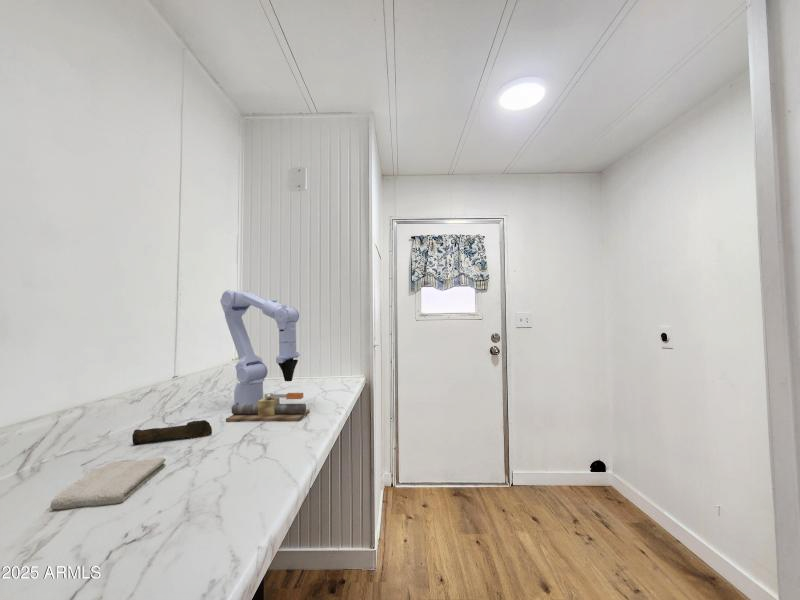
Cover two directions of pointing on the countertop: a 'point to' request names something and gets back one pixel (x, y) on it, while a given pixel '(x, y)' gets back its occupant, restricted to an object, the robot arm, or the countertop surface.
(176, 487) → the countertop surface
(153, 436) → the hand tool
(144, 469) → the washcloth
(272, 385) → the countertop surface
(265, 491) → the countertop surface
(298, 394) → the valve lever
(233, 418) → the valve board
